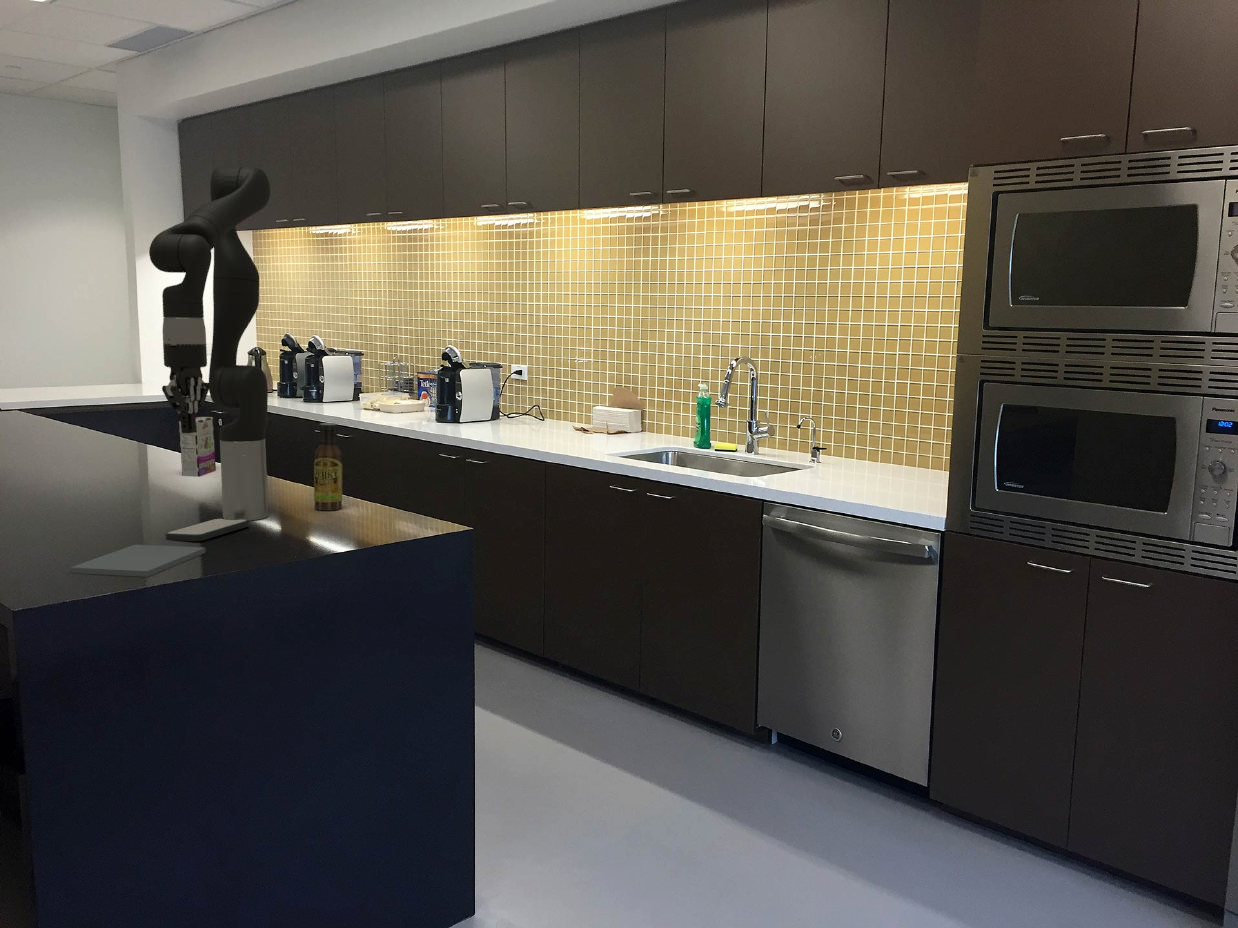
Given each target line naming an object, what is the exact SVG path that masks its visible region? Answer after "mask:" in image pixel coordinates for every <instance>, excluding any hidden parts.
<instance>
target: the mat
mask: <svg viewBox="0 0 1238 928" xmlns="http://www.w3.org/2000/svg"><path fill="white" fill-rule="evenodd" d="M203 554H206V547H201V546H199V547H197V546H196V547H195V546H180V545H179V546H178V545H175V546H174V545H158V544H157V545H153V544H133V545H130V546H127V547H124V548H122V549H118V550H116V551H113V552H110V553H107V554H105V555H101V556H99V557H96V558H93V559H90V560H87V561H84V562H81V563H79V564H76V565H73V566H70V570H69V571H70V573H71V574H80V575H99V576H104V575H105V576H116V577H117V576H119V577H121V576H122V577H140V578H142V577H143V578H148V577H150V576H154V575H155V574H156V575H157V573H160V572H163V571H165V570H167V569H170V568H173V567H175V566H177V565H180V564H182V563H185V562H187V561H189V560H192V559H194V558H196V557H199V556H201V555H202V556H203Z"/></svg>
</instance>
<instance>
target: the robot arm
mask: <svg viewBox="0 0 1238 928" xmlns="http://www.w3.org/2000/svg"><path fill="white" fill-rule="evenodd" d="M266 173H267V172H266V171H264V170H263V169H261V168H260V167H258V166H252V165H217V166H215V167H214V169H213V170H212V172H211V176H210V182H209V183H210V184H209V185H210V186H209V187H210V188H209V192H210V202H207V203H204V204H203V205H201V206H198V207H197V208H196V209H194V210H193V212H191V213H190V215H188V217H187V218H185V219H184V220H183V221H182V222H179V223H177V224H174V225H172V226H171V227H169V228H167V229H164V230H163V231H161V232H159V233H158V234H157V235H156V236H155V237H154V238H153V240H151V243H150V245H149V248H148V249H149V251H148V252H149V253H148V255H149V259H150V262H151V263H152V265H153V266H154V267H155V269H158V270H159V271H161V272H164V273H170V274H172V273H179V274H181V273H183V274H184V273H185V275H184V277H183V280H182V281H181V282H179V283H177V284H172V285H169V286H166V287H165V288H163V291H162V294H161V295H162V296H161V297H162V317H163V318H162V319H163V323H162V349H163V353H162V354H163V365H164V367H165V368H169V369H170V374H169V381H170V382H169V383H168V384H167V385H163V386H162V387H161V391H162V393H163V394H164V397H165V399H166V400H167V402H168V404H169V405H170V408H171V410H172V411H173V412H177V413H178V414H179V415H180V416H179V417H180V421H181V431H182V433H195V432H196V417H197V413H198V411H199V410H201V409H203V407H204V404H205V401H206V399H207V396H208V393H209V396H210V399H211V400H212V403H214V405H216V406H217V407H219V408H228V409H233V408H234V409H239V410H238V411H239V413H238V416H237V418H236V419H235V420H234V421H232V422H230V423H227V424H224V425H222V426H221V427H220V428H219V446H220V447H219V452H220V453H219V454H220V471H221V472H220V473H221V474H220V475H221V498H222V499H221V500H222V501H221V503H222V519H223V518H224V519H240V520H249V521H256V520H262V519H265V518H268V516H269V512H270V511H269V489H268V473H267V472H268V471H267V452H266V451H267V450H266V430H267V425H268V399H269V397H268V396H269V395H268V393H269V392H268V391H269V388H268V380H267V376H266V373H265V372H264V371H263V369H262V368H261V367H259V366H257V365H256V366H255V365H246V364H245V365H242V364H241V365H240V364H237V357H238V356H237V355H238V350H239V349H238V348H239V344H240V341H241V339H242V337H243V334H244V333H245V331H246V330H247V328H248V326H249V325H250V323H251V322H252V320H253V318H254V316H255V314H256V312H257V311H258V308H259V303H260V274H259V273H260V272H259V270H258V267H257V266H256V264H255V262H254V261H253V259H252V258H251V257H252V256H250V254H249V252H248V251H247V249H246V247H244V245H243V242H242V241H241V239H240V237H239V234H238V232H237V227H236V226H238V225H239V224H241V223H242V222H244V221H245V220H247V219H248V218H250V217H252V216H253V215H254V214H257V213H258V212H260V211H261V210H263V209H264V208H265V207H266V206H267V205H268V203H269V200H270V197H271V184H270V181H269V178H268V175H267V174H266ZM212 250H213V273H212V274H213V275H212V283H213V284H212V301H213V302H212V303H213V304H212V305H213V313H212V314H213V315H212V316H213V320H212V321H213V324H212V343H211V353H210V361H209V372H208V382H205V381H204V380H203V373H202V369H201V368H206V367H207V365H208V353H207V351H208V350H207V334H206V332H207V331H206V329H207V328H206V325H205V315H204V293H205V288H206V284H207V278H208V275H209V271H210V267H211V263H212Z"/></svg>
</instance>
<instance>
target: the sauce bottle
mask: <svg viewBox="0 0 1238 928" xmlns="http://www.w3.org/2000/svg"><path fill="white" fill-rule="evenodd" d="M338 425H339V424H337V423H336V422H323V423H322V422H321V423H319V425H318V428H319V429H318V430H319V445H318V446H317V448H316V450H315V451H314V463H313V471H314V472H313V473H314V474H313V475H314V476H313V478H314V481H313V486H314V487H313V491H314V493H313V500H314V508H315V509H316V510H317V511H318V510H320V511H338V510H341V509H342V506H343V505H342V501H343V462H342V461H343V458H342V457H343V453H342V451H341V449H340V447H339V445H338V440H337V439H338V438H337V437H338V429H339V428H338Z"/></svg>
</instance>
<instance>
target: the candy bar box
mask: <svg viewBox="0 0 1238 928" xmlns="http://www.w3.org/2000/svg"><path fill="white" fill-rule="evenodd" d="M178 428H179V429H178V430H179V444H180V458H181V474H182V477H193V478H196V477H197V478H198V477H203V476H205V475H209V474H211V473H213V472H215V471H216V470H217V465H216V463H217V462H216V450H215V434H214V433H215V432H214V417H212V416H198V417H197V416H196V432H195V433H182V431H181V420H179V421H178Z"/></svg>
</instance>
